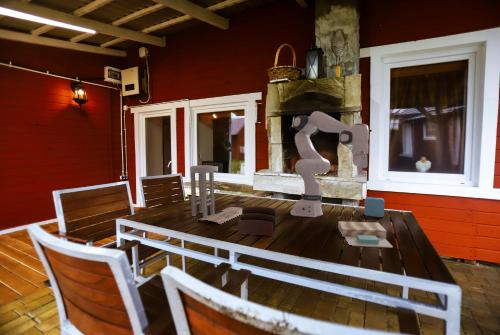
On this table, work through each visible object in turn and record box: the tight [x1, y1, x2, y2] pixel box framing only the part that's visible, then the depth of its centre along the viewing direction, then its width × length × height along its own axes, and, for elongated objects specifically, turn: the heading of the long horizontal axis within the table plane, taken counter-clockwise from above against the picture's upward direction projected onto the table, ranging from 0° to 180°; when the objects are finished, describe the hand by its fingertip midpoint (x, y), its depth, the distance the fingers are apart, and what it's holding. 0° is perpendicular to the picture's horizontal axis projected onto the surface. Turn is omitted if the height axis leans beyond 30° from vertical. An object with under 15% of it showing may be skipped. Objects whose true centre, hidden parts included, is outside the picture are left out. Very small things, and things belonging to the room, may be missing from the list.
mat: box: [344, 236, 394, 249], centre depth 135 cm, size 20×12×1 cm, turn 80°
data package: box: [363, 196, 385, 218], centre depth 182 cm, size 12×4×12 cm, turn 63°
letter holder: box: [237, 206, 277, 237], centre depth 152 cm, size 10×20×14 cm, turn 76°
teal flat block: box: [357, 235, 379, 244], centre depth 135 cm, size 9×6×2 cm, turn 81°
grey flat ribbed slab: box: [197, 206, 243, 225], centre depth 186 cm, size 37×19×3 cm, turn 151°
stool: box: [189, 164, 216, 218], centre depth 187 cm, size 16×16×35 cm
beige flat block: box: [337, 220, 387, 239], centre depth 149 cm, size 22×14×4 cm, turn 80°
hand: (359, 174), depth 161 cm, fingers closed
